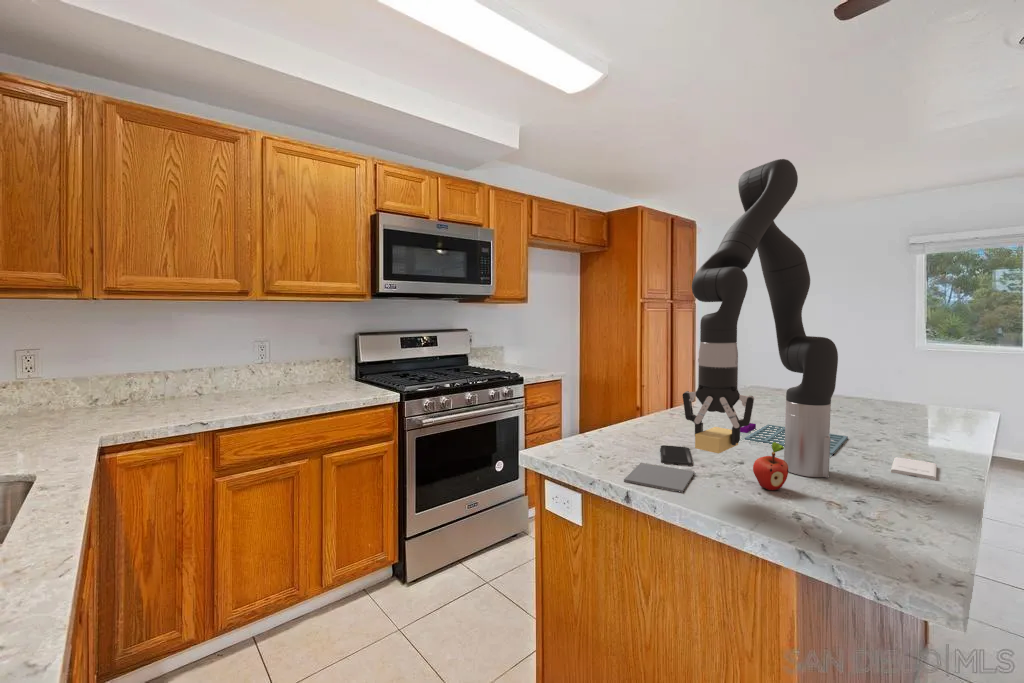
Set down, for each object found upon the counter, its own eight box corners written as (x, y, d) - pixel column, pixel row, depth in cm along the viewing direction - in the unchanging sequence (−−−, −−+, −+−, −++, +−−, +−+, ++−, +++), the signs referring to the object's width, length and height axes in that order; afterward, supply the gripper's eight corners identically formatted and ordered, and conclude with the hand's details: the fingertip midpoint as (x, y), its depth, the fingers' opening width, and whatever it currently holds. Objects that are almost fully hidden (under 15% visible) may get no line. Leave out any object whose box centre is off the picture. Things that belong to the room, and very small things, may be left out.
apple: (788, 497, 98) (789, 450, 97) (751, 491, 101) (753, 446, 101) (787, 485, 105) (788, 441, 104) (753, 480, 108) (754, 437, 107)
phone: (689, 447, 132) (692, 463, 118) (689, 451, 132) (692, 467, 118) (660, 444, 134) (660, 460, 120) (660, 448, 134) (660, 464, 120)
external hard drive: (936, 469, 117) (935, 483, 107) (894, 462, 122) (890, 474, 113) (936, 463, 116) (936, 476, 107) (894, 456, 122) (890, 468, 113)
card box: (738, 444, 99) (738, 430, 99) (718, 453, 93) (718, 438, 93) (715, 440, 103) (715, 426, 103) (695, 448, 97) (695, 434, 97)
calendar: (829, 461, 124) (830, 452, 124) (720, 440, 144) (720, 432, 144) (848, 441, 143) (848, 433, 143) (749, 425, 163) (749, 418, 163)
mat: (694, 473, 112) (694, 471, 112) (682, 493, 100) (682, 490, 100) (640, 464, 119) (641, 462, 119) (623, 481, 107) (623, 479, 107)
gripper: (757, 363, 96) (756, 442, 97) (685, 360, 104) (684, 434, 105) (755, 367, 90) (753, 452, 91) (678, 364, 97) (677, 442, 98)
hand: (716, 442), depth 98 cm, fingers closed on card box, 6 cm apart
